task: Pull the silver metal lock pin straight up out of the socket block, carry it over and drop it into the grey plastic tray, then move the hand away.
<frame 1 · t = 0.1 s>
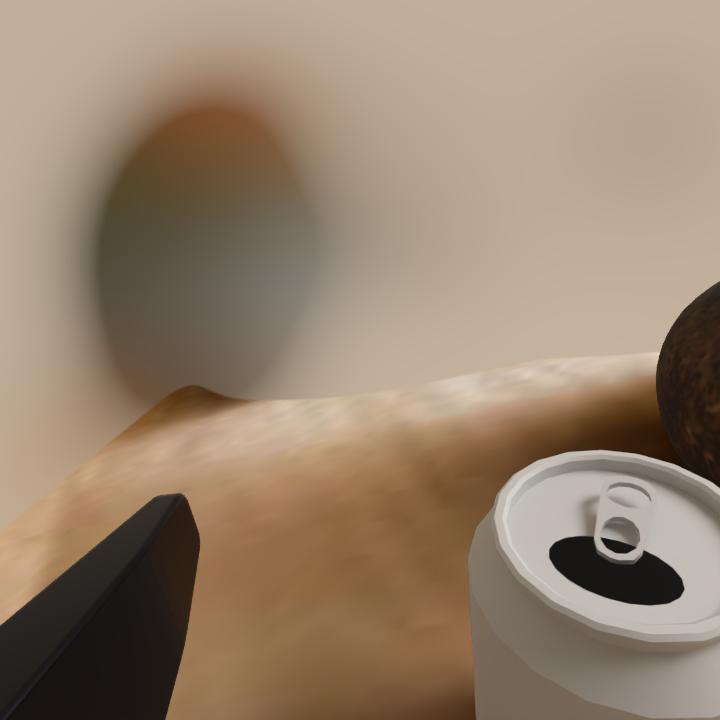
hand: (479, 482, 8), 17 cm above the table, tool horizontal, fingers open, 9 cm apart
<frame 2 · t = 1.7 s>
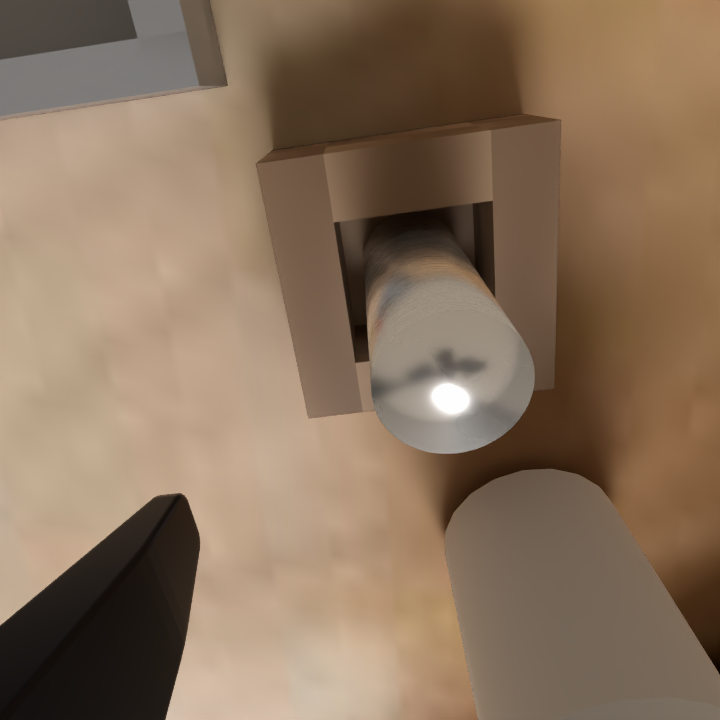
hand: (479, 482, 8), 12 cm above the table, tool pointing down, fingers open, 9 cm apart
can: (523, 520, 25), on the table
socket block: (408, 254, 19), on the table
lock pin: (410, 258, 19), resting on socket block
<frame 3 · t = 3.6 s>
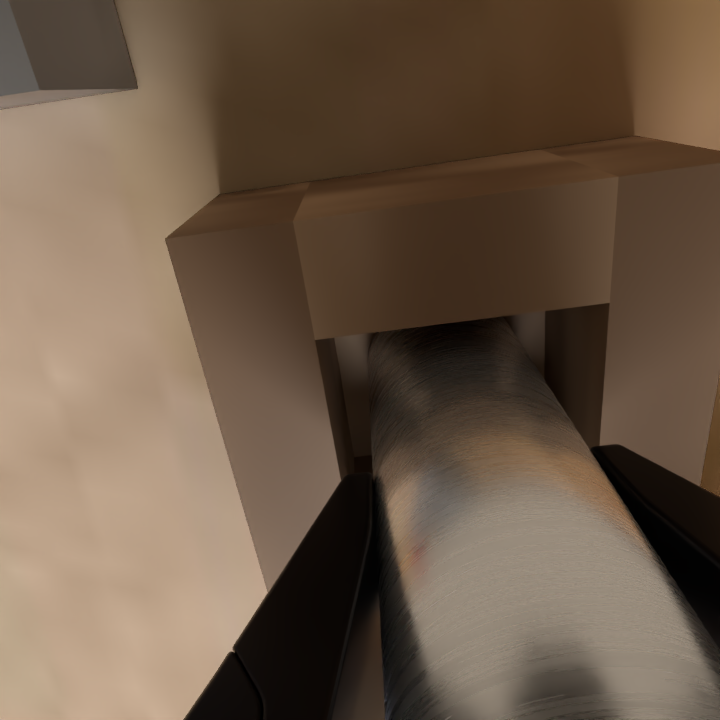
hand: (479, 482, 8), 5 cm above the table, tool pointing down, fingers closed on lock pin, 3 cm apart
socket block: (438, 352, 12), on the table
lock pin: (441, 362, 12), resting on socket block, touching gripper
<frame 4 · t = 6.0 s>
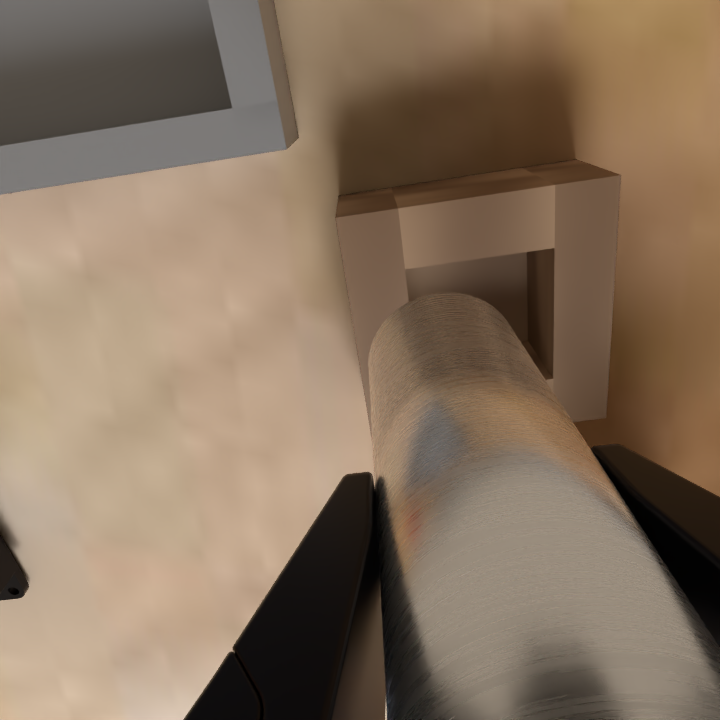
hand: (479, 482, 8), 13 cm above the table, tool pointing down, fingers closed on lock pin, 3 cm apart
socket block: (463, 289, 21), on the table
lock pin: (442, 362, 12), point 9 cm above the table, touching gripper
when the fingers open (6 cm above the table, at t = 8.8 s): lock pin drops 1 cm, resting on tray.
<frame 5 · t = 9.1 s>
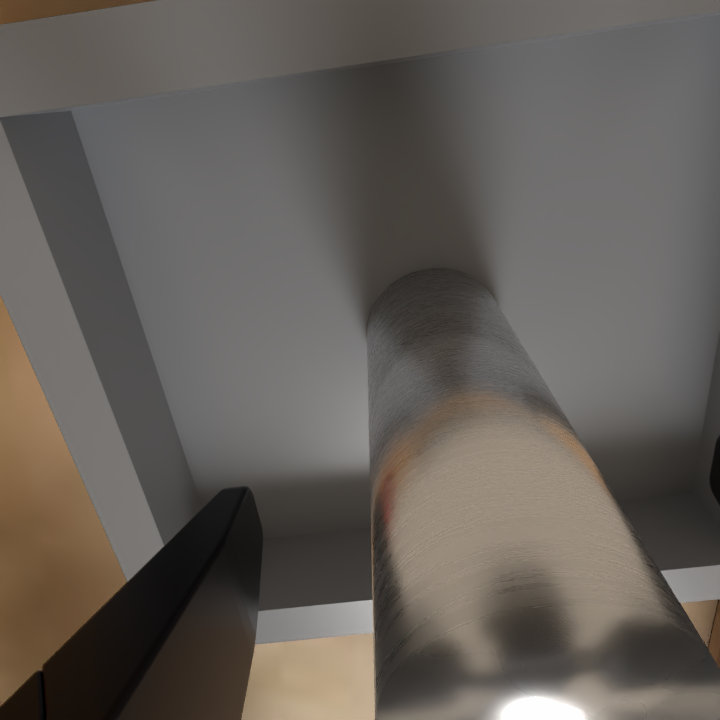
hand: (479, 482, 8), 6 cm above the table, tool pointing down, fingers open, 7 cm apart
tray: (428, 318, 14), on the table
lock pin: (433, 333, 13), point 1 cm above the table, touching tray
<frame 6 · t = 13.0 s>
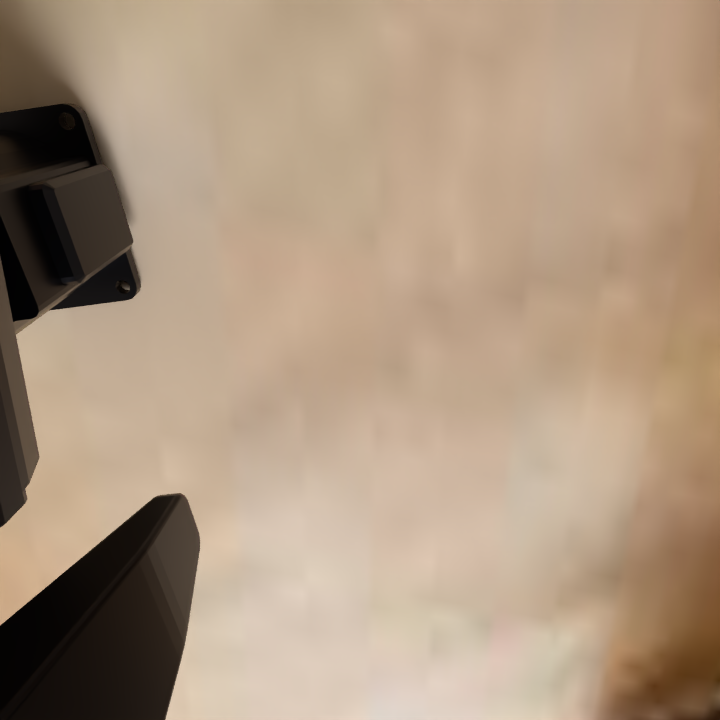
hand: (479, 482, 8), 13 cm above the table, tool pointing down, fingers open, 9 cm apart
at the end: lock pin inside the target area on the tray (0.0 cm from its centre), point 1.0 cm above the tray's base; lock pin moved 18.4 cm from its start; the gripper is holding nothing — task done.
